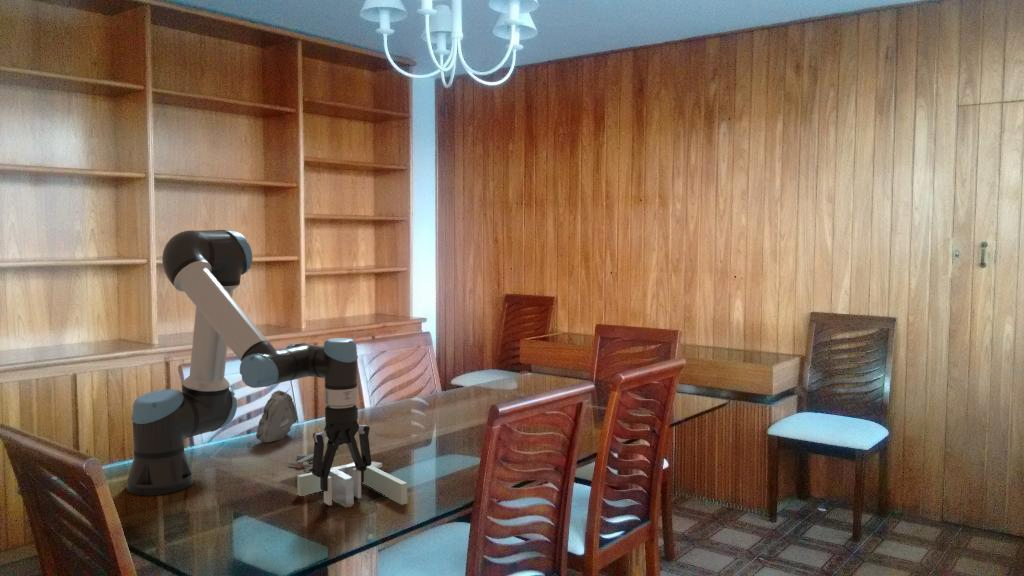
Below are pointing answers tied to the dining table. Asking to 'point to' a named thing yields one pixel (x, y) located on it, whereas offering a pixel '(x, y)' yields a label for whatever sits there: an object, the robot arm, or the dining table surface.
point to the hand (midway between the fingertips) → (342, 499)
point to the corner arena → (372, 478)
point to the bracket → (343, 483)
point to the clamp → (303, 459)
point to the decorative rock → (277, 417)
